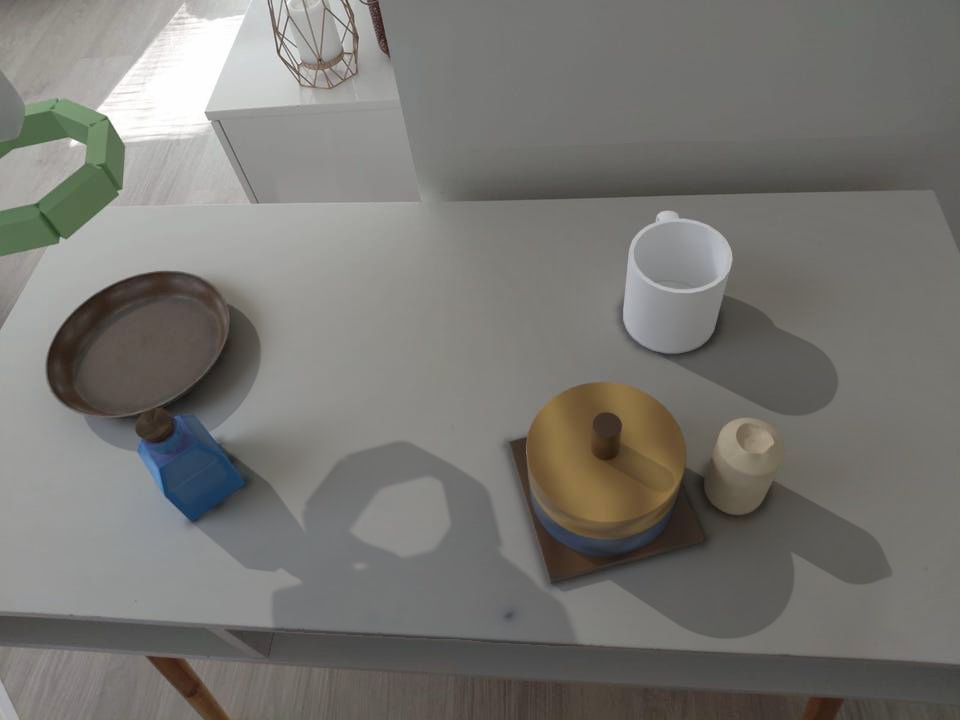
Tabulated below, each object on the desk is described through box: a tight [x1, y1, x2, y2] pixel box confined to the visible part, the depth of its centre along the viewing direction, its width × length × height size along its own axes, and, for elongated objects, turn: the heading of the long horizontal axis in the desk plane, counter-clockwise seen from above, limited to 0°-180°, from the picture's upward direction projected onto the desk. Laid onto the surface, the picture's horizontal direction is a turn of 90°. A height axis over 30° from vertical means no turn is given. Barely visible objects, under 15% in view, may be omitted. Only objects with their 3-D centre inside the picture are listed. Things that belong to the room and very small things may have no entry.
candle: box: [703, 417, 786, 516], centre depth 67 cm, size 6×6×10 cm
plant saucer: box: [44, 270, 231, 419], centre depth 86 cm, size 21×21×3 cm
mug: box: [622, 210, 733, 355], centre depth 80 cm, size 13×10×10 cm
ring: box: [0, 97, 126, 257], centre depth 65 cm, size 16×16×3 cm
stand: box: [508, 381, 705, 584], centre depth 67 cm, size 14×14×13 cm
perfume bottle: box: [134, 407, 247, 523], centre depth 72 cm, size 6×6×12 cm
